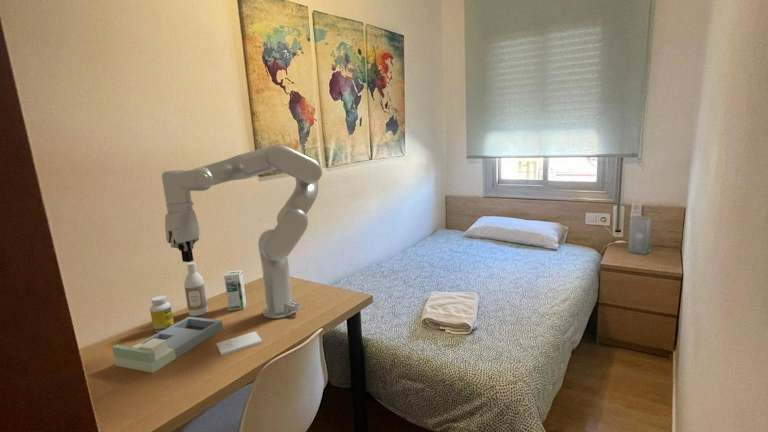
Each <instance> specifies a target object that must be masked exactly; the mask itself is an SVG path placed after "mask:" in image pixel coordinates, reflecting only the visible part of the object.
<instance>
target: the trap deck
mask: <svg viewBox="0 0 768 432" xmlns="http://www.w3.org/2000/svg"><path fill="white" fill-rule="evenodd" d="M223 329H224V326H223V320H220V319H211V318H203V317H197V316H187V317H185V318H184V319H181V320H180V321H178V322H176V323H174V325H172V326H170V327H169V328H167V329H165V330H163V331H161V332H156V333H155V334H154V335H152V336H150V337H148V338H145V339H143V340H142V341H140V342H139V343H137V344H135V345H133V346H127V345H121V344H116V345H114V346H112V348H111V349H112V353H113V357H114V363H115V367H120V368H121V367H122V368H127V369H131V370H136V371H142V372H146V373H151V374H153V373H156V372H157V371H158V370H159V369H161V368H163V367H165V366H166V365H168V364H169V363H171V362H172V361H174V360H176V359H177V358H179V357H181V356H182V355H184V354H185V353H187V352H188V351H190V350H192V349H193V348H194V347H197V346H198V345H200V344H201V343H202V342H204V341H206V340H207V339H209V338H211V337H213V336H214V335H215V334H217V333H218V332H220V331H222V330H223ZM153 338H154V339H162V340H166V342H167V348H168V351H167V352H165V353H164V354H162V355H160V356H159V357H157V358H156V359H155V354H154V351H152V350H146V349H140V348H139V346H141V345H142V344H144V343H146V342H148V341H150V340H151V339H153Z"/></svg>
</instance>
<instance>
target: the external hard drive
mask: <svg viewBox="0 0 768 432" xmlns="http://www.w3.org/2000/svg"><path fill="white" fill-rule="evenodd" d="M261 344H263V339H261V337H260V335H259V334H258V333H257V331H253V332H252V331H251V332H249V333H246V334H242V335H239V336H235V337H233V338H229V339H225V340H223V341H219V342H217V343H216V345H215V346H216V347H217V350H218V351H219V353H220V356H221V357H222V356H225V355H229V354H232V353H235V352H238V351H242V350H245V349H249V348H251V347H254V346H258V345H261Z"/></svg>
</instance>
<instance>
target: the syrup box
mask: <svg viewBox="0 0 768 432" xmlns="http://www.w3.org/2000/svg"><path fill="white" fill-rule="evenodd" d="M223 277H224V285H225V291H226V298H227V306H228V312H232V311H237V310H244V309H245V307H246V305H247V298H246V291H245V284H244V283H245V282H244V276H243V269H240V270H232V271H229V270H228V271H227V272H225V274H224V276H223Z"/></svg>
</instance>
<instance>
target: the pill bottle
mask: <svg viewBox="0 0 768 432" xmlns="http://www.w3.org/2000/svg"><path fill="white" fill-rule="evenodd" d="M167 300H168V297H167V295H157V296H155V297H152V298H151V304H152V305H151V307H150V309H149V311H150V312H149V313H150V318H151V322H152V327H153V331H154V332H156V333H159V332H161V331H163V330H165V329H167V328H169V327H170V326H172V325H174V324H175V322H174V317H173V310H172V305H171V303H170V302H169V301H167Z"/></svg>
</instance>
